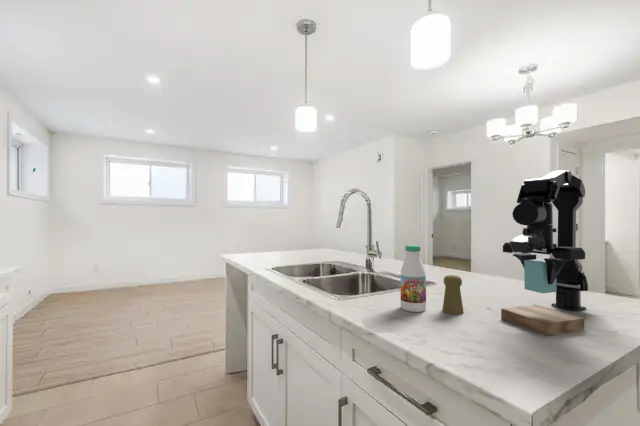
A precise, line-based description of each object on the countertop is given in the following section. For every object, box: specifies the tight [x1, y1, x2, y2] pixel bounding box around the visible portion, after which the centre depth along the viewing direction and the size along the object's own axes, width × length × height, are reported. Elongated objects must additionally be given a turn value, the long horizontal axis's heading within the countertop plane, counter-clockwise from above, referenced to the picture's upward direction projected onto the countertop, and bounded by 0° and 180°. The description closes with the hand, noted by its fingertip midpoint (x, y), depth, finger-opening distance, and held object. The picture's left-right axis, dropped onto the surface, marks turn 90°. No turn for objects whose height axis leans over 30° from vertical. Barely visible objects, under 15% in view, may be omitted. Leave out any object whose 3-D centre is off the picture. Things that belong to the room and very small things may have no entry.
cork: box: [442, 274, 464, 316], centre depth 94 cm, size 6×6×11 cm
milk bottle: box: [400, 244, 427, 313], centre depth 97 cm, size 8×8×20 cm
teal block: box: [523, 258, 556, 294], centre depth 83 cm, size 5×5×8 cm
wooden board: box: [500, 304, 586, 337], centre depth 83 cm, size 13×13×3 cm
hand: (540, 282), depth 83 cm, fingers closed on teal block, 5 cm apart
